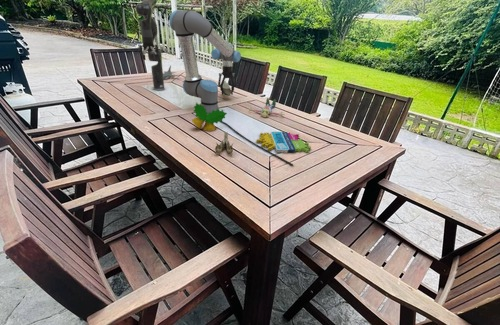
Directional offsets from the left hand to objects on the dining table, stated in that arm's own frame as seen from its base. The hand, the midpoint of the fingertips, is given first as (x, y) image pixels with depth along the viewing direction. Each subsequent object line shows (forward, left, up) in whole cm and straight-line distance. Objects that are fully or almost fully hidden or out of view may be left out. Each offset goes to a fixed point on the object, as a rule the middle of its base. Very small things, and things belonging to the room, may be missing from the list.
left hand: (149, 59), depth 199 cm
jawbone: (+102, +39, -30) cm, 113 cm away
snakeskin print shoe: (+1, +58, -25) cm, 63 cm away
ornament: (+70, +35, -30) cm, 84 cm away
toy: (+41, +84, -30) cm, 98 cm away
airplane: (-75, +8, -30) cm, 81 cm away
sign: (+96, +74, -30) cm, 125 cm away
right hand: (+10, +58, -24) cm, 64 cm away
